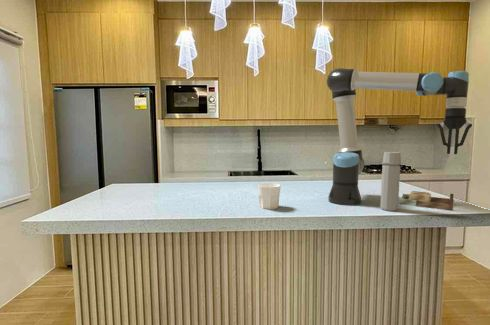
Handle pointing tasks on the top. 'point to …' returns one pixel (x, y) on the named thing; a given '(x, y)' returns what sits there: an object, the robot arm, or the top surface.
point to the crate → (420, 196)
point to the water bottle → (390, 181)
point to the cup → (269, 195)
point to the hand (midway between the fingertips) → (451, 161)
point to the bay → (434, 203)
